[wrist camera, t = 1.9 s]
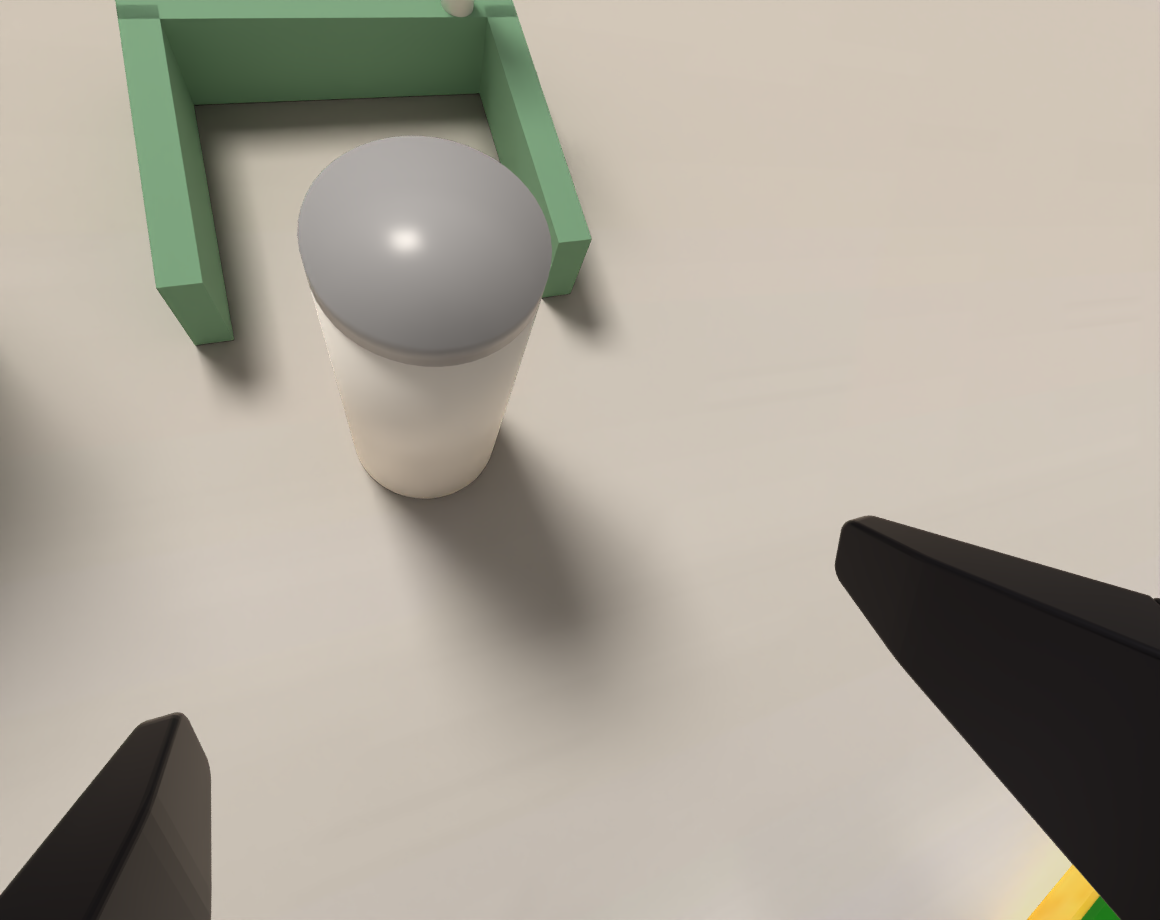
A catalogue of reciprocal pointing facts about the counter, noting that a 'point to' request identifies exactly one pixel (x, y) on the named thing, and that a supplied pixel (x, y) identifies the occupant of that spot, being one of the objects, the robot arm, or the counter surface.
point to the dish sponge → (1073, 901)
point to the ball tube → (423, 301)
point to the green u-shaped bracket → (318, 72)
